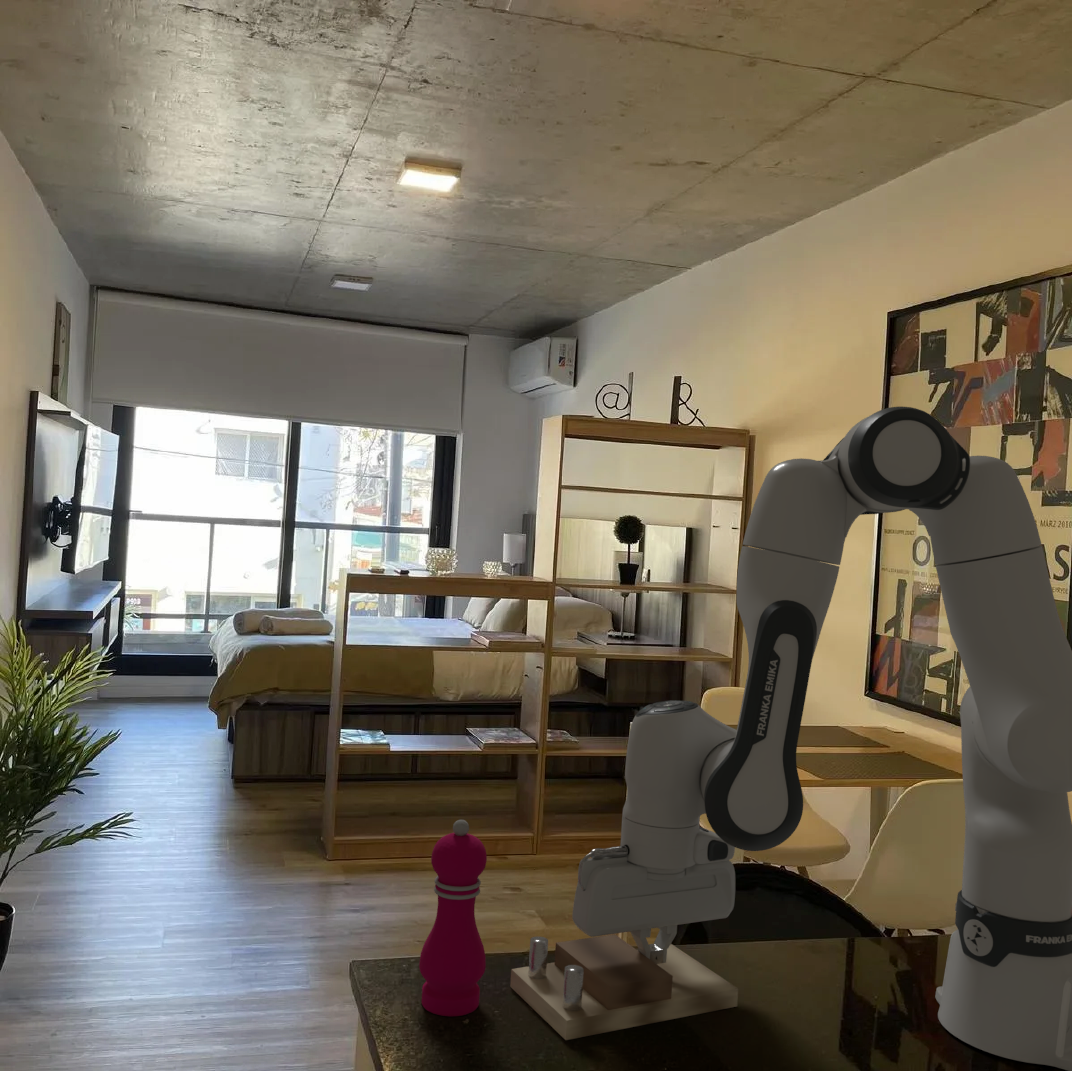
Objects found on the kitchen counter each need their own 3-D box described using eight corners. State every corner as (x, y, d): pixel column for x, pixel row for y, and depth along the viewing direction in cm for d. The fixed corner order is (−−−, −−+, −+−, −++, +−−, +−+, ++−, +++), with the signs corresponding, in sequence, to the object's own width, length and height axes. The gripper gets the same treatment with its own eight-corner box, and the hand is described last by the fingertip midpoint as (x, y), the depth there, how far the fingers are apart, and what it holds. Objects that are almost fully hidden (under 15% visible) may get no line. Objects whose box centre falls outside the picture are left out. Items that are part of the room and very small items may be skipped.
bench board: (670, 960, 126) (673, 911, 126) (737, 1006, 115) (740, 952, 115) (510, 986, 116) (513, 933, 116) (565, 1040, 104) (569, 981, 104)
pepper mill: (473, 1023, 107) (485, 832, 107) (407, 1013, 108) (419, 824, 108) (490, 994, 114) (501, 815, 114) (428, 984, 115) (439, 807, 115)
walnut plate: (613, 955, 122) (614, 934, 122) (671, 998, 111) (672, 975, 111) (554, 964, 118) (555, 942, 118) (608, 1010, 107) (609, 986, 107)
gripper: (595, 859, 110) (586, 987, 110) (746, 843, 119) (739, 962, 119) (566, 841, 115) (558, 964, 115) (713, 828, 125) (706, 941, 125)
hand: (651, 962), depth 117 cm, fingers closed
